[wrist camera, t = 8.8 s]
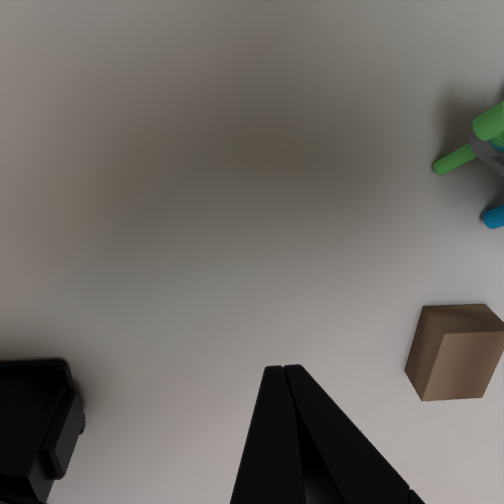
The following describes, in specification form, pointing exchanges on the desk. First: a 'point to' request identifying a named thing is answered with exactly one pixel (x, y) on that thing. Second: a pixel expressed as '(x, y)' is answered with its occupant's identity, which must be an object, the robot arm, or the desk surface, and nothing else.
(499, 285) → the desk surface
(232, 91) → the desk surface
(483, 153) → the gear
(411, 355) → the joist marks
